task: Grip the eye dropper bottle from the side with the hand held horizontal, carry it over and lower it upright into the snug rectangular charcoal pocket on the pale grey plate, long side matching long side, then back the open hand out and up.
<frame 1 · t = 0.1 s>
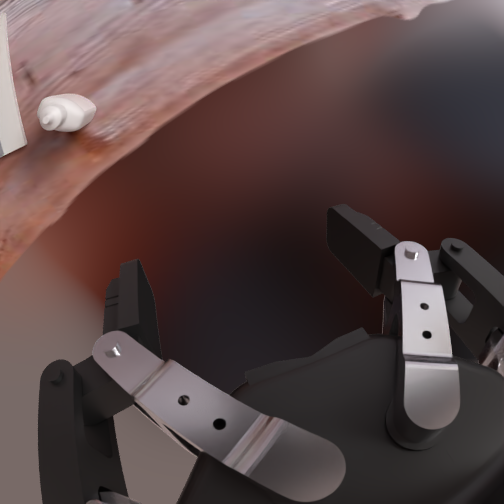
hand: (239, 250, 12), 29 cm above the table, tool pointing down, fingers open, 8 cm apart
eye dropper bottle: (76, 107, 30), on the table
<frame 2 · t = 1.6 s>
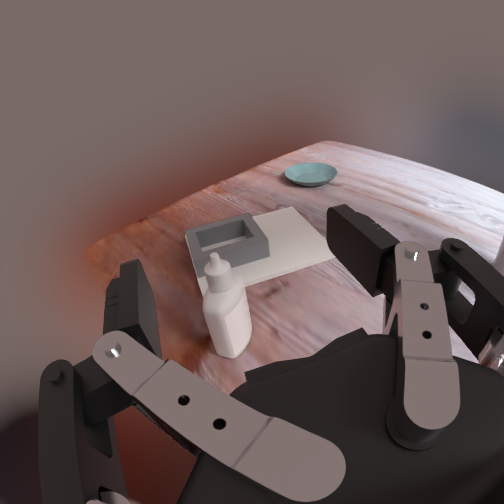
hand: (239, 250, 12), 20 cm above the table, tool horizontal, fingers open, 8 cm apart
eye dropper bottle: (235, 341, 33), on the table
saucer: (311, 181, 67), on the table
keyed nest: (255, 247, 48), on the table
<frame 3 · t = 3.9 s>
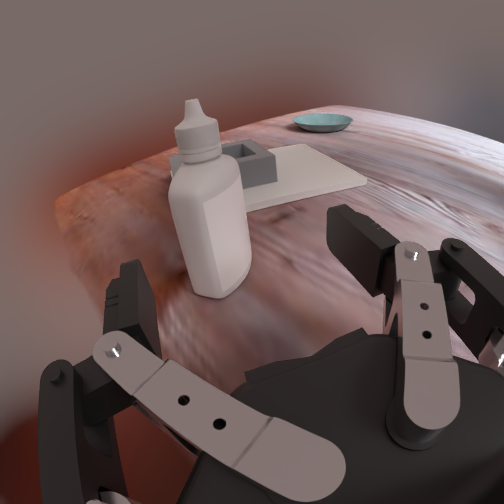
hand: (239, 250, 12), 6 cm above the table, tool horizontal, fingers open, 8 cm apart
eye dropper bottle: (225, 276, 22), on the table
saucer: (323, 130, 55), on the table
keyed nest: (258, 177, 36), on the table
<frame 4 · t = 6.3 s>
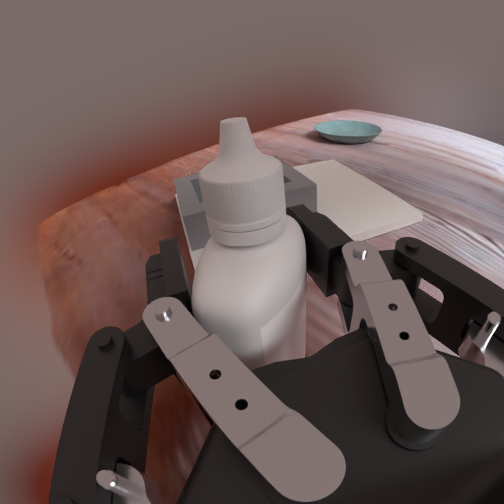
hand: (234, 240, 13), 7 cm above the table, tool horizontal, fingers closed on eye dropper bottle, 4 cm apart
eye dropper bottle: (268, 376, 15), on the table, touching gripper
saucer: (348, 140, 48), on the table
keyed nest: (288, 206, 29), on the table
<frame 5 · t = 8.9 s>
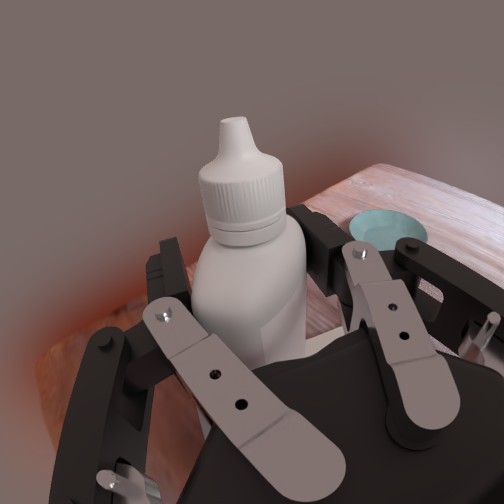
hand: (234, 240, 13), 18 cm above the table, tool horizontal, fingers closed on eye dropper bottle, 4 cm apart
eye dropper bottle: (268, 376, 15), point 11 cm above the table, touching gripper
saucer: (386, 243, 41), on the table
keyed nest: (328, 416, 22), on the table
when the fingers open (10 cm above the table, at t = 11.5 s): eye dropper bottle stays where it is, resting on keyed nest.
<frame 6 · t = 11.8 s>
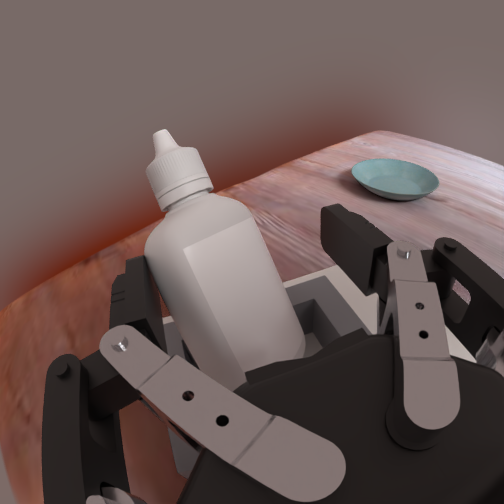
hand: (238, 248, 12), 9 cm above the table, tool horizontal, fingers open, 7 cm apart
eye dropper bottle: (269, 375, 14), point 3 cm above the table, touching gripper, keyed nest
saucer: (394, 190, 36), on the table
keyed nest: (342, 367, 17), on the table
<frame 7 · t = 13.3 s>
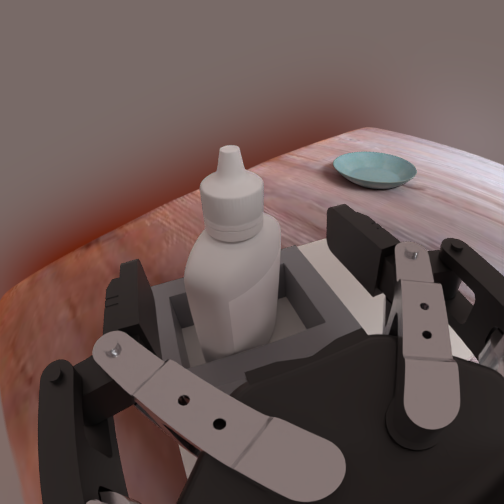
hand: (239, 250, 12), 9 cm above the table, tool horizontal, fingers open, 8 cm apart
eye dropper bottle: (242, 339, 18), point 1 cm above the table, touching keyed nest
saucer: (374, 180, 39), on the table
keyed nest: (312, 327, 20), on the table
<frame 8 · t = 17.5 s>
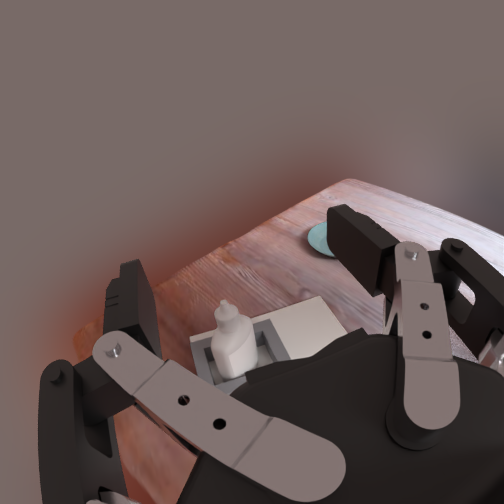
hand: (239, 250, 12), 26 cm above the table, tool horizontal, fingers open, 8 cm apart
eye dropper bottle: (241, 370, 36), point 1 cm above the table, touching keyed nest
saucer: (338, 247, 56), on the table
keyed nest: (277, 362, 37), on the table
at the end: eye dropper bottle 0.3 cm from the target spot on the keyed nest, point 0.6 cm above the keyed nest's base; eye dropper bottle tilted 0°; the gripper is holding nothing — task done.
